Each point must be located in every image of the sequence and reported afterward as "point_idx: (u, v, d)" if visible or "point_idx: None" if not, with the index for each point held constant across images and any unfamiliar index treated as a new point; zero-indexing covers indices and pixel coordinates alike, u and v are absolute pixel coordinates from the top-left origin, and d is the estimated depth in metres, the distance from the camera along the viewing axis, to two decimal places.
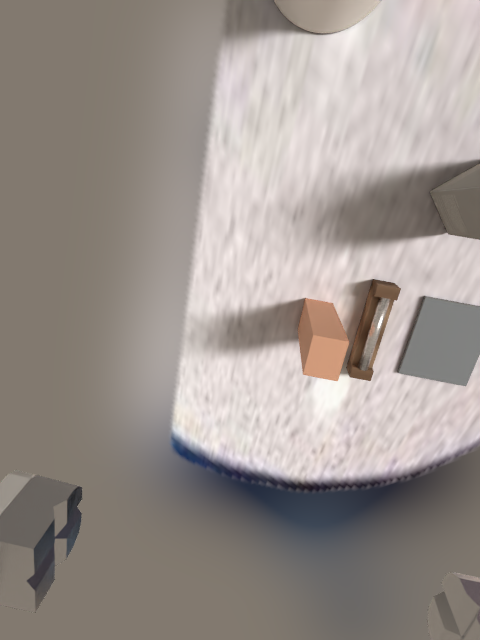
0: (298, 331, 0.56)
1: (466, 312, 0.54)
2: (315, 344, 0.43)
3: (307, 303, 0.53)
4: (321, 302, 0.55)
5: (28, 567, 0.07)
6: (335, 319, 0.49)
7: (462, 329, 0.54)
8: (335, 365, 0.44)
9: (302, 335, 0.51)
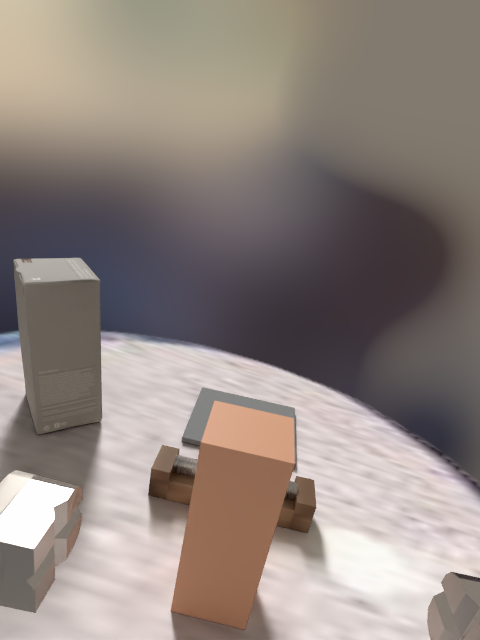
0: (244, 615, 0.25)
1: (204, 406, 0.46)
2: (222, 440, 0.21)
3: None
4: None
5: (28, 567, 0.07)
6: None
7: None
8: (263, 418, 0.23)
9: (237, 559, 0.23)
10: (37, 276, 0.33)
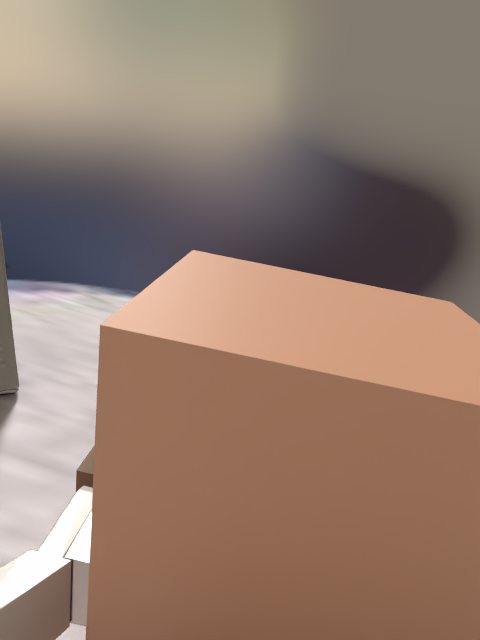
0: None
1: None
2: (214, 326, 0.04)
3: None
4: None
5: None
6: None
7: None
8: (361, 294, 0.07)
9: None
10: None
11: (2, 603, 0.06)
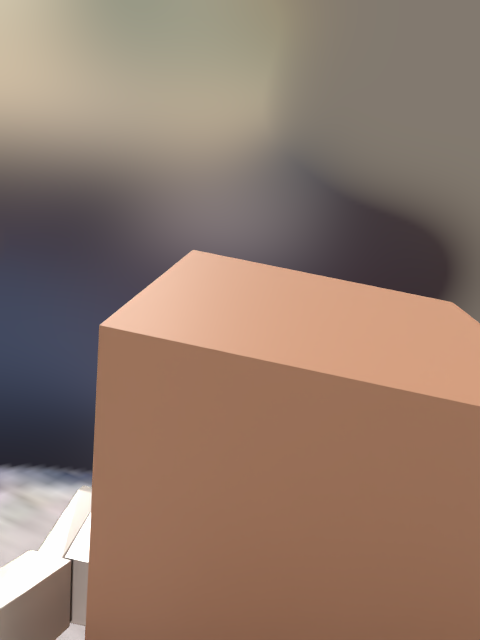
0: None
1: None
2: (214, 327, 0.04)
3: None
4: None
5: None
6: None
7: None
8: (362, 294, 0.07)
9: None
10: None
11: (2, 603, 0.06)
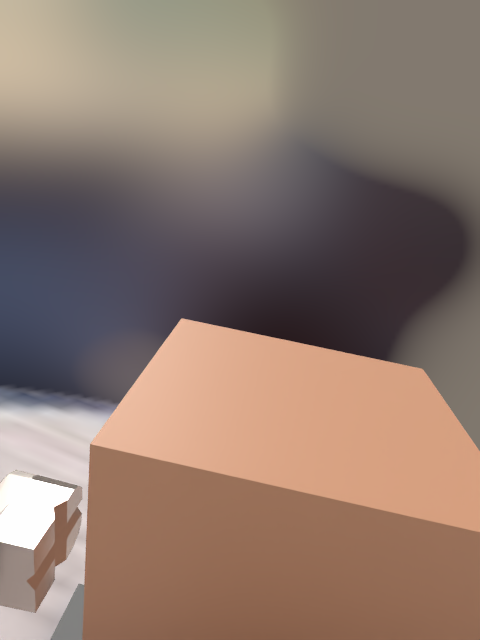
0: None
1: None
2: (192, 434, 0.05)
3: None
4: None
5: (28, 567, 0.07)
6: None
7: None
8: (336, 367, 0.07)
9: None
10: None
11: None
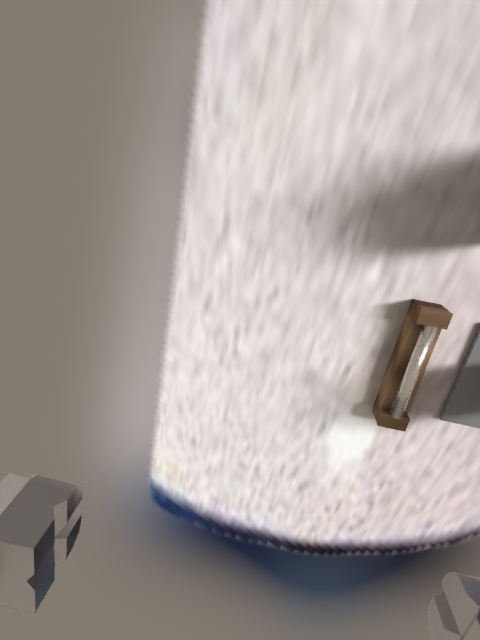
0: None
1: None
2: None
3: None
4: None
5: (28, 567, 0.07)
6: None
7: None
8: None
9: None
10: None
11: None
